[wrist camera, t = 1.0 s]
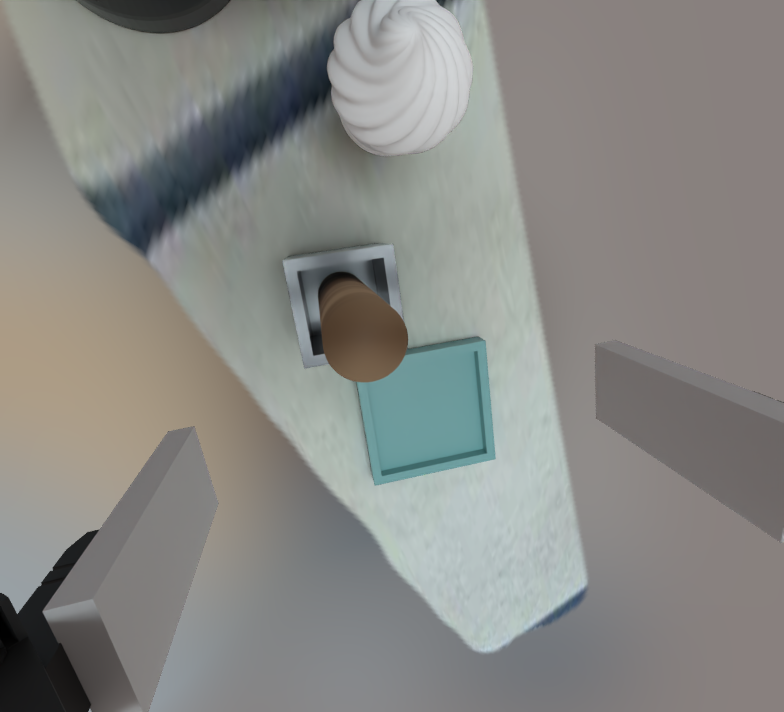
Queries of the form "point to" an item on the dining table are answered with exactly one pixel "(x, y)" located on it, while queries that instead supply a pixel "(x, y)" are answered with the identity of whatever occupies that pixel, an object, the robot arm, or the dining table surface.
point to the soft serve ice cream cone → (399, 75)
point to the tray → (429, 412)
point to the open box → (312, 268)
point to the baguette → (359, 329)
